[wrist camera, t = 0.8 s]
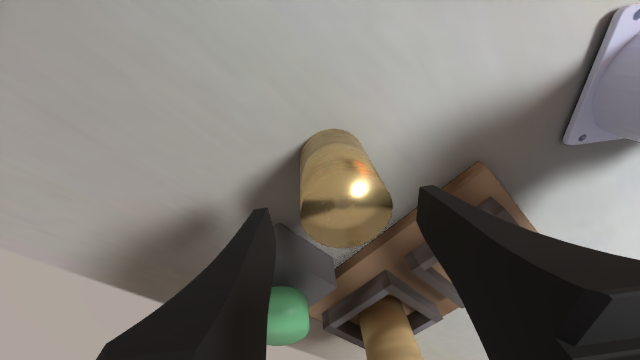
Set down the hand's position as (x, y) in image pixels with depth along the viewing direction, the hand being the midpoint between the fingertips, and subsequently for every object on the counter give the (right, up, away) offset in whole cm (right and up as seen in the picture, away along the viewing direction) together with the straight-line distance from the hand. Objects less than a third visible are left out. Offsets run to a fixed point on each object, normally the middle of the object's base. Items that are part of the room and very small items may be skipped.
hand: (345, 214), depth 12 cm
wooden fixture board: (+8, -7, +12) cm, 16 cm away
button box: (-4, -5, +10) cm, 12 cm away
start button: (-4, -7, +6) cm, 10 cm away
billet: (0, +3, +5) cm, 6 cm away
